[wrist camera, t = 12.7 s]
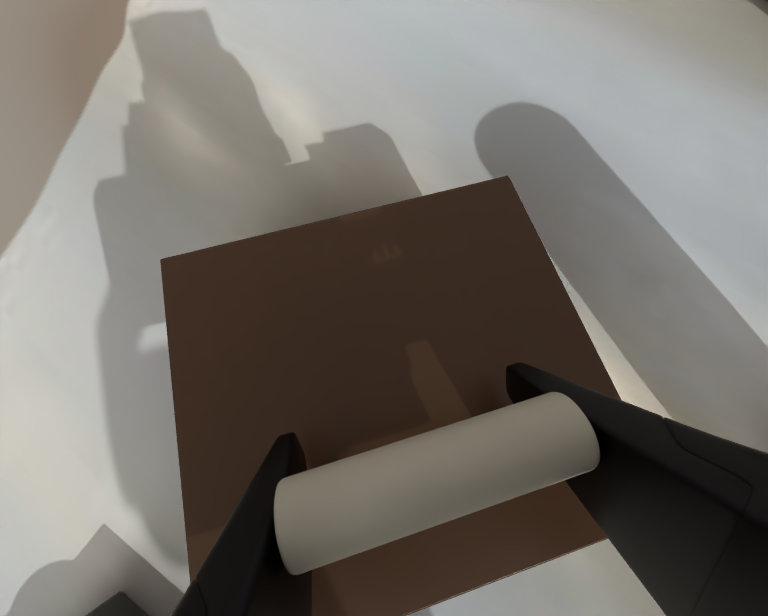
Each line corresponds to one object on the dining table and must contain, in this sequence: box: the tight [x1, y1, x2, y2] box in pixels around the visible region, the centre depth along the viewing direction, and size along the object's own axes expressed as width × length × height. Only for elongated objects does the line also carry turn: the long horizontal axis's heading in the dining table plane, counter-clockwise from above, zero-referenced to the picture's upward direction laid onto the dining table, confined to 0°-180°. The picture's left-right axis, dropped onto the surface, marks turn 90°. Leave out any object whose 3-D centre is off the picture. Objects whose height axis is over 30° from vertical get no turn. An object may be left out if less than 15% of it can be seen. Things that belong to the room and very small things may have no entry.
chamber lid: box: [160, 176, 622, 616], centre depth 9 cm, size 12×13×5 cm
